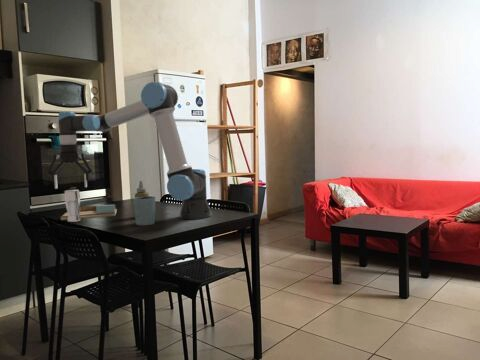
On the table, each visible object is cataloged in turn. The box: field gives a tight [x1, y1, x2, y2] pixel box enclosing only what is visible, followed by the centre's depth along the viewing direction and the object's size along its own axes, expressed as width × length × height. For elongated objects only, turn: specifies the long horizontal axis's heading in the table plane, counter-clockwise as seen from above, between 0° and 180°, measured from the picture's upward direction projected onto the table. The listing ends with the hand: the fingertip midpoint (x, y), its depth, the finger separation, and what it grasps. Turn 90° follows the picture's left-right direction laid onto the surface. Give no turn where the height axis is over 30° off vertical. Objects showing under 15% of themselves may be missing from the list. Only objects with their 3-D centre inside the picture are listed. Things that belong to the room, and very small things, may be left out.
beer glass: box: [64, 189, 81, 223], centre depth 207 cm, size 7×7×15 cm
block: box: [95, 204, 116, 214], centre depth 218 cm, size 2×9×4 cm, turn 103°
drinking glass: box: [132, 195, 156, 226], centre depth 193 cm, size 10×10×12 cm
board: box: [60, 205, 118, 221], centre depth 222 cm, size 17×26×4 cm, turn 103°
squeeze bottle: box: [134, 180, 149, 198], centre depth 210 cm, size 8×8×18 cm
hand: (71, 187), depth 206 cm, fingers open, 13 cm apart
